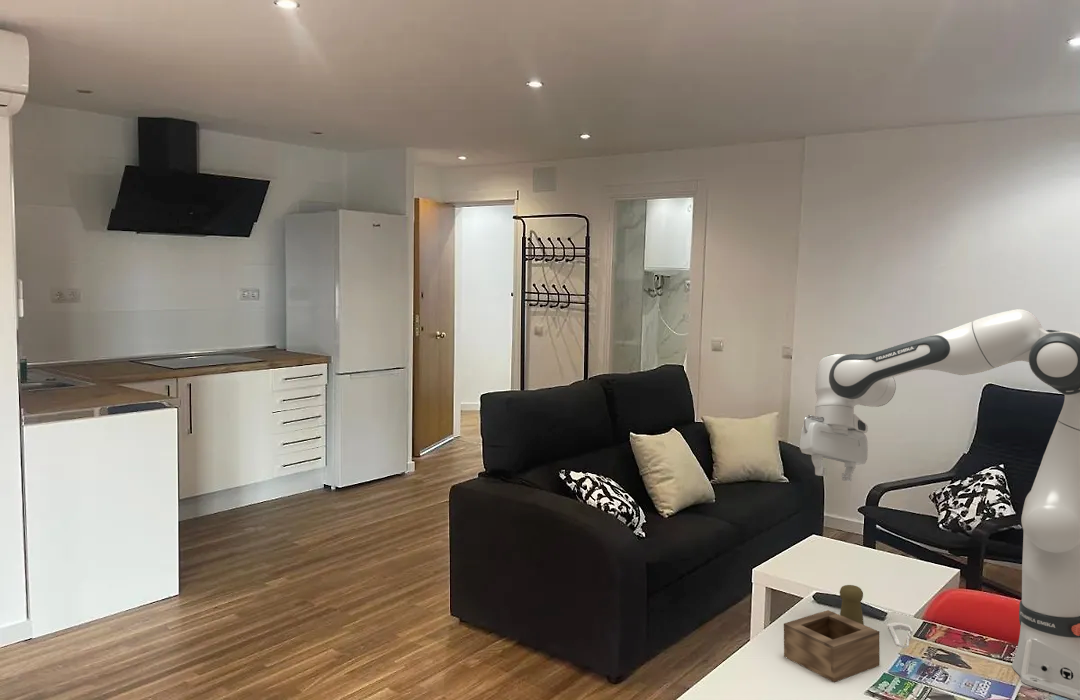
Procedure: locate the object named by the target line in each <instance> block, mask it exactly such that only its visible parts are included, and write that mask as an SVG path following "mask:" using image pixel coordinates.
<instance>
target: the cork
mask: <svg viewBox="0 0 1080 700" xmlns="http://www.w3.org/2000/svg"><path fill="white" fill-rule="evenodd" d="M863 592H864V591H863V590H862V588H861V587H860V586H857V585H853V584H846V585H843V586H841V587H840V589H839V596H840V599H841V606H840V613H839V615H841V616H843V617H846V618H848V619H851V620H853V621H855V622H858V623H860V624H863V625H865V623H864V616H863V609H862V604H861V603H862V600H863V598H864V593H863Z"/></svg>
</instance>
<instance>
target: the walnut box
mask: <svg viewBox="0 0 1080 700" xmlns="http://www.w3.org/2000/svg"><path fill="white" fill-rule="evenodd" d="M783 657H784V658H786V657H787V658H786V659H788V660H789V661H792V662H794V663H796V664H798V665H800V666H802V667H803V668H805V669H808V670H809V671H811V672H813V673H815V674H818V675H819V676H821V677H823V678H825V679H827V680H829V681H831V682H832V683H835V682H839V681H841V680H844V679H847V678H849V677H852V676H855V675H857V674H860V673H863V672H865V671H866V672H867V671H868V670H872V669H874V668H877V667H879V666H880V663H881V661H880V631H879V630H878V629H874V628H872V627H870V626H867V625H865V624H864V625H863V624H860V623H858V622H855V621H853V620H851V619H848V618H846V617H843V616H841V615H840V613H839V614H838V613H836V612H834V611H831V610H829V609H827V610H824V611H821V612H817V613H814V614H810V615H807V616H804V617H801V618H797V619H794V620H791V621H787V622H784V623H783Z"/></svg>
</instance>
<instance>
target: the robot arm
mask: <svg viewBox="0 0 1080 700" xmlns="http://www.w3.org/2000/svg"><path fill="white" fill-rule="evenodd" d="M1014 362H1015V363H1016V362H1026V363H1028V365H1029V367H1030V370H1031V371H1032V373H1033V374H1034V376H1036V378H1038V379H1039V380H1040V381H1041V382H1043V383H1045V384H1046V385H1047V386H1049V387H1051V388H1053V389H1054V390H1055V391H1057V392H1059V393H1061V394H1062V395H1064V401H1063V405H1062V408H1061V411H1060V414H1059V416H1058V418H1057V421H1056V423H1055V425H1054V428H1053V431H1052V433H1051V435H1050V438H1049V441H1048V443H1047V446H1046V449H1045V451H1044V453H1043V456H1042V459H1041V462H1040V466H1039V467H1038V470H1037V472H1036V477H1035V479H1034V481H1033V484H1032V486H1031V490H1029V492H1028V493H1027V495H1026V497H1025V500H1024V504H1023V508H1022V512H1021V513H1022V514H1021V517H1020V518H1021V522H1020V523H1021V527H1022V530H1023V538H1022V539H1023V540H1022V541H1023V542H1022V563H1021V564H1022V565H1021V600H1020V601H1019V609H1018V610H1019V611H1018V620H1019V625H1020V627H1019V628H1020V629H1019V637H1018V644H1017V648H1016V652H1015V656H1014V659H1013V660H1012V663H1011V664H1012V665H1011V666H1012V669H1013V670H1014V671H1015V672H1016V674H1018V675H1019V677H1020V681H1021V682H1022V683H1023V684H1025V685H1027V686H1031V687H1033V688H1037V689H1040V690H1043V691H1046V692H1050V693H1052V694H1056V695H1058V696H1060V697H1061V696H1062V697H1065V698H1068V699H1070V700H1080V333H1079V332H1075V331H1072V330H1054V329H1046V330H1045V328H1044V327H1043V326H1042V324H1041V321H1040V320H1039V319H1038V318H1037V317H1036V316H1035V315H1034V314H1033V313H1031V312H1030V311H1028V310H1026V309H1022V308H1016V309H1010V310H1006V311H1001V312H997V313H994V314H990V315H989V314H988V315H986V316H983V317H980V318H977V319H974V320H972V321H970V322H966V323H964V324H961V325H959V326H956V327H954V328H951V329H948V330H944V331H942V332H938V333H935V334H932V335H929V336H925V337H921V338H919V339H915V340H914V339H913V340H911V341H907V342H904V343H901V344H898V345H894V346H893V347H892V346H891V347H888V348H885V349H882V350H878V351H875V352H871V353H865V354H862V353H861V354H858V353H849V354H847V353H833V354H829V355H826V356H824V357H823V358H821V360H819V362H818V364H817V367H816V375H815V394H816V403H815V406H814V408H815V409H814V415H813V414H808V415H807V416H806V417H805V418H804V419H803V423H802V424H803V425H802V428H801V431H800V440H799V450H800V451H801V454H806V455H810V456H811V462H812V465H813V466H814V475H815V476H818V477H819V476H820V477H823V476H825V475H826V468H825V467H824V466H823V458H824V459H826V460H827V459H828V460H832V461H837V462H841V463H844V468H845V469H844V472H842V473H841V481H843V482H852V481H853V473H854V471H855V469H856V465H865V464H866V462H867V460H868V456H869V454H868V453H869V452H868V451H869V450H868V449H869V447H868V446H869V445H868V444H869V443H868V437H867V435H866V433H868V431H869V430H868V429H869V426H868V424H867V423H866V422H864V421H863V420H861V418H859V417H858V416H857V414H855V413H854V412H855V411H854V409H855V407H856V406H859V405H860V406H865V407H871V408H873V407H874V408H876V407H882V406H885V405H887V404H888V403H889V402H890V401H891V400H892V399H893V398H894V396H895V393H896V389H897V385H896V381H895V378H894V377H897V376H900V375H904V374H907V373H911V372H915V371H920V370H922V371H923V370H929V371H930V370H932V371H938V372H939V371H940V372H943V373H944V372H945V373H949V374H953V375H958V376H967V375H975V374H981V373H983V372H987V371H991V370H993V369H996V368H998V367H1002V366H1005V365H1007V364H1010V363H1014Z"/></svg>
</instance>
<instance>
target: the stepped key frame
mask: <svg viewBox="0 0 1080 700" xmlns="http://www.w3.org/2000/svg"><path fill="white" fill-rule="evenodd" d="M886 625H887V626H886V627H887V630H888V632H889V635H890V637H891V638H892V640H893V642H894V644H895V646H896V647H897V648H898V647H899V648H902V649H904V648H909V647H910V640H911V639H912V634H913V633H914V631H913V629H912V627H911V625H910V624H905V623H902V622H898V621H896V622H891V623H887V624H886ZM899 628H901V629H900V630H903V629H904V631H907V630H908V632H907V635H906V639H905V642H906V643H905V645H903V644H901V643H900V640H899V638H898V636H897V633H896V631H895V630H899ZM894 629H895V630H894ZM909 631H910V632H909Z"/></svg>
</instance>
